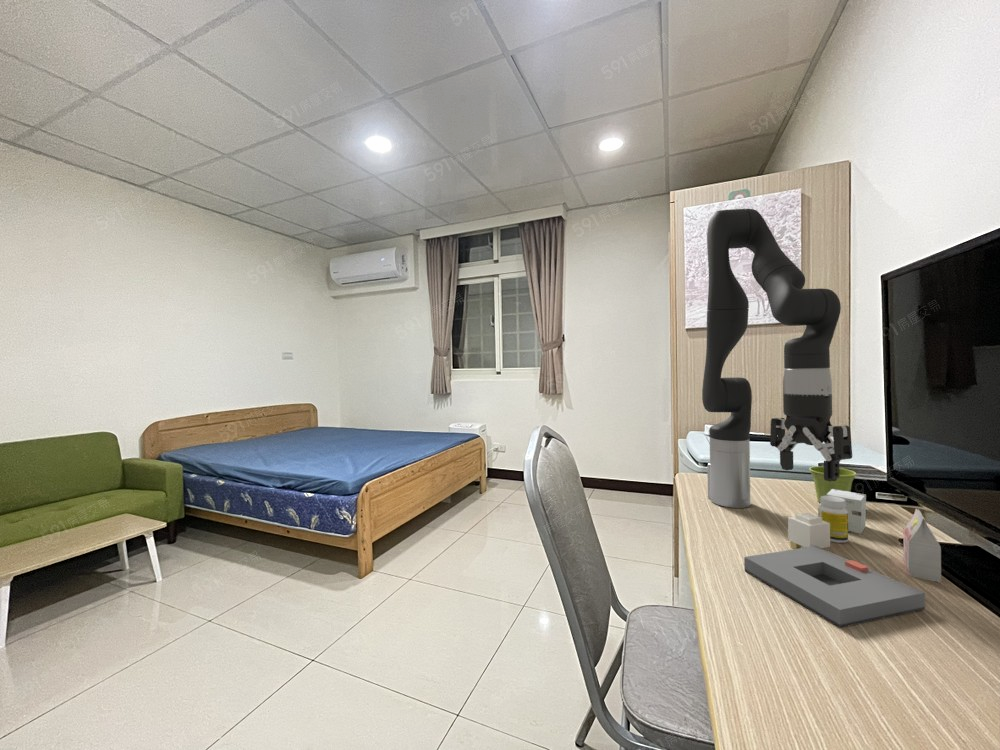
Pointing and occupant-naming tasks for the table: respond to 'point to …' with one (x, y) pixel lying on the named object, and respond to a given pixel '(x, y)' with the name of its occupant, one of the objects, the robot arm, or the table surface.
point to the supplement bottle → (835, 517)
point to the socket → (834, 585)
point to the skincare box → (853, 509)
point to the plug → (808, 531)
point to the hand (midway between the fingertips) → (808, 474)
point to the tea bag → (921, 549)
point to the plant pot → (825, 486)
